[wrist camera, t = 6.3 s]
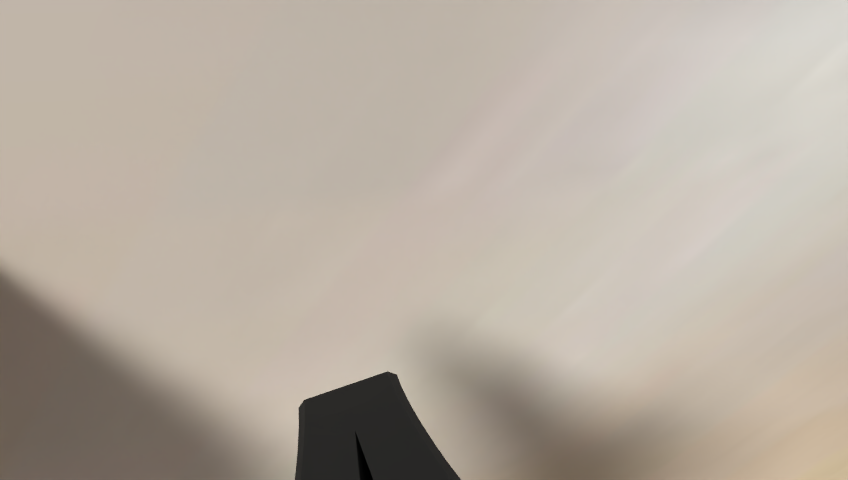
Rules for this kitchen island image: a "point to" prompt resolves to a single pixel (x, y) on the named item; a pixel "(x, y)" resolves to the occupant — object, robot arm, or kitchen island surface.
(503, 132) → the kitchen island surface
